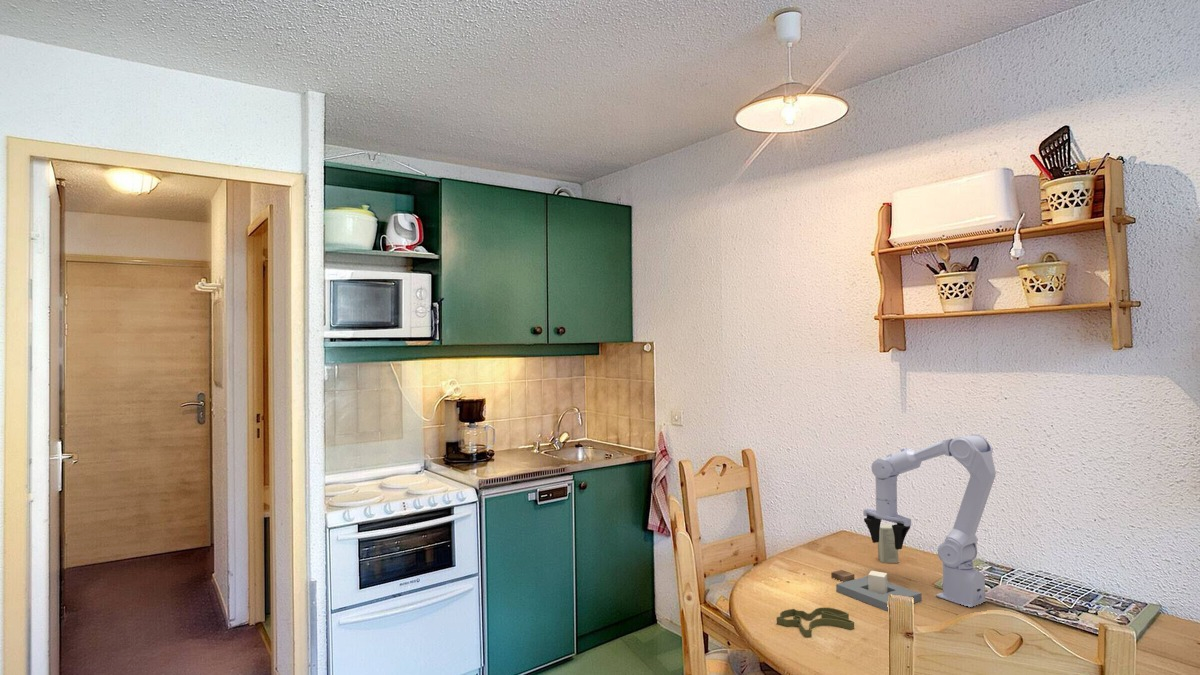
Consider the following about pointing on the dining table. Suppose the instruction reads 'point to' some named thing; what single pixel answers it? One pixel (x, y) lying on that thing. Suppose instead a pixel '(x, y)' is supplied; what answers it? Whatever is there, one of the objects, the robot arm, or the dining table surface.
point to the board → (861, 592)
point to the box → (887, 545)
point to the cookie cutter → (828, 619)
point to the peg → (877, 582)
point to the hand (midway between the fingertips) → (887, 545)
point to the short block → (842, 575)
